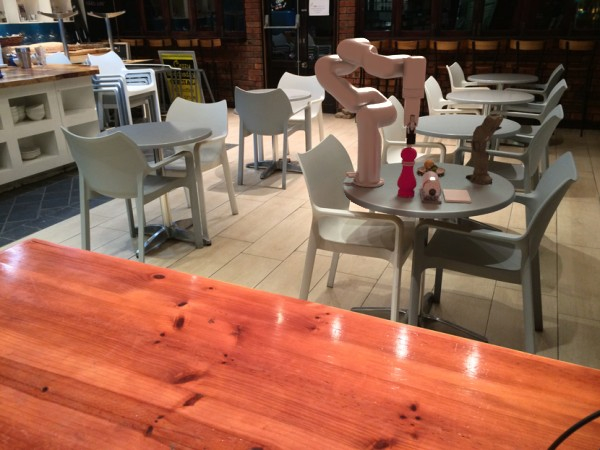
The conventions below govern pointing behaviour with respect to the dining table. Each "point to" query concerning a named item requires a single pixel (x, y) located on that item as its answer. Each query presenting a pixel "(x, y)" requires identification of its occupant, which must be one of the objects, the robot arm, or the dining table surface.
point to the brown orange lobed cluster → (430, 168)
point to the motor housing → (430, 188)
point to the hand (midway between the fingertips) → (410, 141)
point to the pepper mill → (407, 173)
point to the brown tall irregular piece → (483, 148)
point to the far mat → (456, 196)
